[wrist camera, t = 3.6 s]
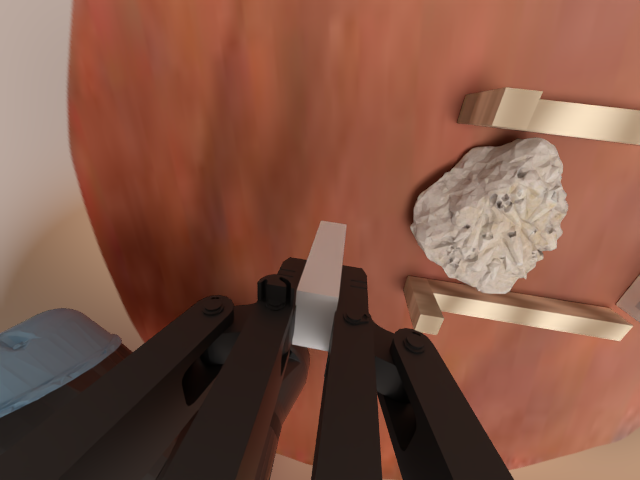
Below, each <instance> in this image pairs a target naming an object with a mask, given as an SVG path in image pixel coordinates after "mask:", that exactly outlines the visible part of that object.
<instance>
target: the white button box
mask: <svg viewBox="0 0 640 480" xmlns="http://www.w3.org/2000/svg"><path fill="white" fill-rule="evenodd" d="M616 305H617V306H618V307H619V308H621V309H622V310H624V311H625V312H626V313H628V314H629V315H630V316H632V317H633V318H634V319H636V320H637V321H639V322H640V275H639V276H638V277H637V279H636V280H635V281H634V282H633V284H632V285H631V286H630V287H629V288H628V290H627V291H626V292H625V293H624V295H623V296H622V297H621V298H620V300H619V301H618V302H617V303H616Z"/></svg>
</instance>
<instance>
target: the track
mask: <svg viewBox="0 0 640 480" xmlns="http://www.w3.org/2000/svg"><path fill="white" fill-rule="evenodd" d="M542 93H543V91H534V90H525V89H517V88H508V87H505V88H500V89H495V90H489V91H484V92H478V93H473V94H468V95H465V99H464V102H463V105H462V108H461V111H460V114H459V117H458V120H457V123H461V124H469V125H477V126H485V127H494V128H502V129H510V130H518V131H526V132H535V133H543V134H551V135H559V136H567V137H575V138H584V139H592V140H600V141H608V142H616V143H625V144H633V145H640V111H639V110H631V109H622V108H613V107H604V106H595V105H587V104H578V103H569V102H560V101H552V100H543V99H540V97H541V95H542ZM403 291H404V295H405V299H406V303H407V306H408V310H409V314H410V317H411V321H412V325H413V328H414V330H416V331H419V332H422V333H428V334H434V335H437V333H438V331H439V329H440V327H441V324H442V322H443V320H444V317H443V315H442V312H441V311H444V312H450V313H456V314H462V315H468V316H474V317H480V318H486V319H491V320H497V321H503V322H509V323H515V324H521V325H527V326H533V327H539V328H545V329H551V330H557V331H563V332H569V333H575V334H581V335H587V336H593V337H599V338H605V339H610V340H616V341H620V340H621V339H622V338H623V337H624V336H625V335H626V334H627V333H628V331H629V330H630V329H631V328H632V327H633V325H632V324H630V323H629V322H628V321H626V320H625V319H624V318H622V317H621V316H620V315H618V314H617V313H616V312H614V311H613V310H612V309H610V308H607V307H601V306H594V305H588V304H582V303H576V302H569V301H563V300H557V299H551V298H545V297H538V296H532V295H526V294H520V293H514V292H507V293H506V294H489V293H482V292H481V291H478V290H477V289H476V287H472V286H470V285H464V284H458V283H451V282H445V281H439V280H433V279H426V278H420V277H414V276H408V277H407V280H406V283H405V286H404V290H403Z"/></svg>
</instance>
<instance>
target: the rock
mask: <svg viewBox="0 0 640 480" xmlns="http://www.w3.org/2000/svg"><path fill="white" fill-rule="evenodd" d="M562 173H563V164H562V162H561V160H560V158H559V154H558V152H557V149H556V147H555V146H554V145H552V144H551V143H550V142H548V141H547V140H545V139H542V138H536V137H535V138H528V139H523V140H522V139H519V138H518V139H516V140H514V141H513V142H511V143H507V144H505V145H503V146H498V147H493V146H483V147H476V148H472V149H471V150H470V151H469V152H468V153H467V154H465V155H464V156H463V158H462V159H461V160H460V161H459V162H458V163H457V164H456V165H455V166H454V167H453V168H452V170H451V171H450V172H446V173H445V174H444V175H443V177H442V178H441V179H439V180H438V181H437V182H436V183H434V184H433V185H432V186H430V187H429V188H428V189H426V190H425V191H423V192H422V193H421V194H420V195H419V197H418V200H417V201H416V204H415V207H414V222H413V223H412V224H411V226H410V228H411V231H412V233H413V235H414V237H415V239H416V240H417V243H418V245H419V246H420V247H421V249H422V250H423V251H424V252H425V254H426V256H427V258H428V259H429V260H430V261H433V262H435V263H436V264H438V265H440V266H442V268H443V269H444V271H445V273H446V274H447V275H448V277H449V278H455V279H457V280H459V281H462V282H464V283H466V284H468V285H470V286H472V287H476V289H477V290H478V291H481V292H482V293H489V294H506V293H507V292H509V291H510V290H511V288H512V286H513V285H514V283H515V282H516V281H517V279H518V278H525V279H526V277H527V273H528V272H529V271H531V270H532V269H533V268H534V267H535V265H536V262H537V261H539V260H542V259H543V253H542V251H546V250H548V251H551V250H554V249H556V248H557V239H558V238H559V237H560V236H561V235H562V233H563V231H562V230H561V228H560V223H561V221H562V219H563V218H564V217H565V215H566V212H567V210H568V204H567V202H566V200H565V198H566V196H567V194H566V193H565V191H564V190H563V187H562V185H561V182H560V181H561V178H562V177H561V174H562Z"/></svg>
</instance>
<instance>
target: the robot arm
mask: <svg viewBox="0 0 640 480" xmlns="http://www.w3.org/2000/svg"><path fill="white" fill-rule="evenodd" d="M346 226H347V225H346V224H340V223H333V222H327V221H321V222H320V225H319V228H318V231H317V233H316V236H315V239H314V242H313V245H312V248H311V251H310V253H309V256H308V259H307V260H303V259H297V258H291V257H290V258H288V259H287V260H285V261H284V262H283V263H282V265H281V267H280V270H279V271H278V273H277V275H276V274H273V275H268V276H265V277H263V278H261V279H260V280H259V281H258V301H257V303H254V304H250V305H239V306H234V304H233V302H232V300H231V299H229V298H228V297H225V296H221V295H216V296H209V297H206V298H204V299H202V300H200V301H198V302H197V303H196V304H194V305H193V306H192V307H191V308H189V309H188V310H187V311H185V312H184V313H183V314H182V315H180V316H179V317H178V318H176V319H175V320H174V321H173V322H171V323H170V324H169V325H167V326H166V327H165V328H164V329H162V330H161V331H160V332H158V333H157V334H156V335H155V336H153V337H152V338H151V339H149V340H148V341H147V342H146V343H144V344H143V345H142V346H140V347H139V348H138V349H137V350H135V351H134V352H132V351H131V350H129V349H128V348H127V347H126V346H125V345H123V344H122V343H121V342H122V340H121V338H120V337H119V336H118V335H115V334H110V333H109V332H107V331H106V330H104V329H103V328H102V327H100V326H99V325H98V324H97V323H95V322H94V321H92V320H91V319H90V318H88V317H87V316H86V315H84V314H83V313H81V312H79V311H76V310H73V309H66V308H61V309H53V310H48V311H45V312H42V313H40V314H37V315H35V316H33V317H31V318H29V319H27V320H25V321H23V322H21V323H19V324H17V325H15V326H13V327H11V328H9V329H7V330H5V331H4V332H2V333H0V480H270V476H271V472H272V467H273V462H274V458H275V454H276V449H277V444H278V440H279V436H280V432H281V428H282V425H283V422H284V421H285V419H286V417H287V415H288V414H289V412H290V410H291V408H292V406H293V405H294V403H295V401H296V399H297V398H298V396H299V394H300V392H301V391H302V389H303V387H304V385H305V382H306V379H307V375H308V369H309V364H310V358H309V353H308V350H307V347H308V348H314V349H319V350H324V351H328V358H327V363H326V369H325V374H324V377H325V378H324V386H323V393H322V401H321V408H320V416H319V424H318V431H317V439H316V446H315V454H314V461H313V469H312V477H311V480H382V468H381V452H380V435H379V419H378V403H377V395H378V398H379V402H380V405H381V408H382V412H383V415H384V418H385V422H386V425H387V428H388V432H389V435H390V438H391V442H392V445H393V448H394V452H395V455H396V458H397V462H398V465H399V469H400V472H401V475H402V479H403V480H514V479H513V477H512V476H511V474H510V472H509V471H508V469H507V467H506V466H505V464H504V462H503V461H502V459H501V457H500V455H499V454H498V452H497V450H496V449H495V447H494V445H493V444H492V442H491V440H490V439H489V437H488V435H487V434H486V432H485V430H484V429H483V427H482V425H481V424H480V422H479V420H478V419H477V417H476V415H475V413H474V412H473V410H472V408H471V407H470V405H469V403H468V402H467V400H466V398H465V397H464V395H463V393H462V392H461V390H460V388H459V387H458V385H457V383H456V382H455V380H454V378H453V377H452V375H451V373H450V371H449V370H448V368H447V366H446V365H445V363H444V361H443V360H442V358H441V356H440V355H439V353H438V351H437V350H436V348H435V346H434V345H433V343H432V342H431V341H430V339H429V338H428V337H426V336H425V335H424V334H422V333H421V332H419V331H416V330H414V329H408V328H404V329H399V330H398V331H397V332H395V334H394V333H392V332H389V331H387V330H385V329H383V328H381V327H379V326H378V325H377V324H375V323H374V322H373V320H372V318H371V315H370V314H369V312H368V292H367V275H366V274H365V272H364V271H363V269H362V268H356V267H350V266H344V265H342V263H343V254H344V244H345V235H346Z"/></svg>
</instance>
